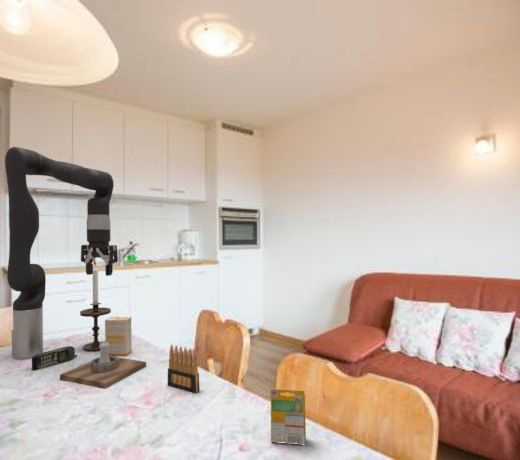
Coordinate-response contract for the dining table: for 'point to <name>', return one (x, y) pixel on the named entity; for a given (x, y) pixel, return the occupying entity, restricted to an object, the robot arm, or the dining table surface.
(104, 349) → the rook chess piece
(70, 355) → the mobile phone
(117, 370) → the walnut plate
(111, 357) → the metal collar
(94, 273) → the candlestick
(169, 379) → the ammunition clip
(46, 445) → the dining table surface
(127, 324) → the supplement box
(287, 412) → the crayon box
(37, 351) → the robot arm
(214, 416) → the dining table surface
